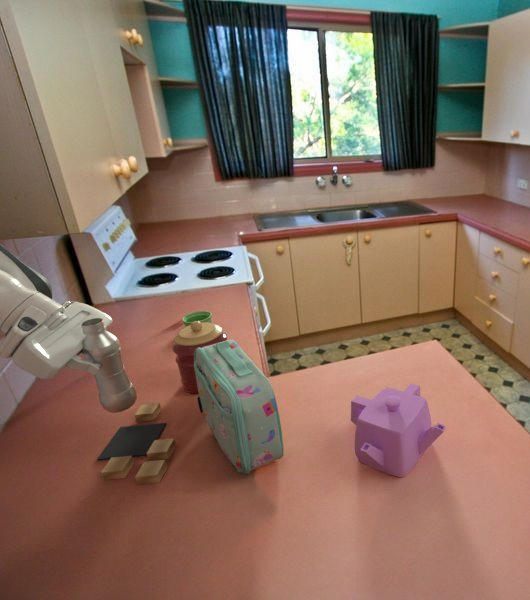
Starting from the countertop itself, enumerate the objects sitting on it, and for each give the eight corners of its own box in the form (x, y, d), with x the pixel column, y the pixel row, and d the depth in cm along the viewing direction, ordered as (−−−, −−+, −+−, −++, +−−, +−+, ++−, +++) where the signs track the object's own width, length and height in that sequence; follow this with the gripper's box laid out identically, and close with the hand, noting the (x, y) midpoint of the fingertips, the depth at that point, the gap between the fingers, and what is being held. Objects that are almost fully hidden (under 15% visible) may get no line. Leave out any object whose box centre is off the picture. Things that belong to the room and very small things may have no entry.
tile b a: (103, 480, 83) (100, 472, 82) (114, 465, 87) (111, 457, 86) (125, 478, 83) (122, 470, 82) (134, 462, 87) (131, 455, 86)
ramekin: (219, 327, 143) (216, 315, 141) (192, 337, 137) (189, 325, 135) (206, 319, 148) (204, 308, 147) (180, 329, 142) (177, 317, 140)
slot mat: (97, 461, 88) (96, 459, 88) (121, 428, 97) (120, 426, 97) (148, 456, 89) (147, 454, 88) (166, 424, 98) (166, 422, 98)
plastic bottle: (134, 393, 94) (107, 311, 86) (143, 406, 89) (115, 321, 81) (100, 406, 90) (68, 322, 82) (108, 421, 85) (75, 333, 77)
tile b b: (149, 461, 87) (146, 453, 86) (156, 447, 91) (154, 440, 90) (169, 459, 88) (166, 451, 87) (176, 445, 91) (174, 438, 90)
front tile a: (137, 484, 82) (134, 477, 81) (146, 469, 85) (144, 461, 84) (159, 482, 82) (156, 474, 81) (167, 467, 86) (165, 459, 85)
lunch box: (199, 420, 99) (177, 339, 90) (242, 401, 105) (226, 324, 96) (243, 490, 80) (220, 395, 71) (293, 462, 86) (278, 372, 77)
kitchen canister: (171, 391, 110) (153, 330, 102) (205, 364, 121) (191, 308, 114) (214, 398, 106) (199, 336, 99) (245, 370, 118) (233, 313, 111)
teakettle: (418, 414, 98) (417, 369, 93) (448, 467, 83) (450, 416, 78) (346, 432, 94) (341, 385, 89) (364, 491, 79) (360, 439, 74)
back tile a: (136, 421, 99) (134, 414, 98) (144, 411, 102) (142, 404, 102) (154, 420, 99) (152, 413, 98) (161, 409, 103) (159, 402, 102)
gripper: (62, 308, 90) (124, 345, 95) (-12, 359, 71) (70, 401, 76) (78, 287, 89) (140, 326, 93) (6, 334, 70) (88, 378, 75)
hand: (108, 360), depth 85 cm, fingers closed on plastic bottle, 6 cm apart
